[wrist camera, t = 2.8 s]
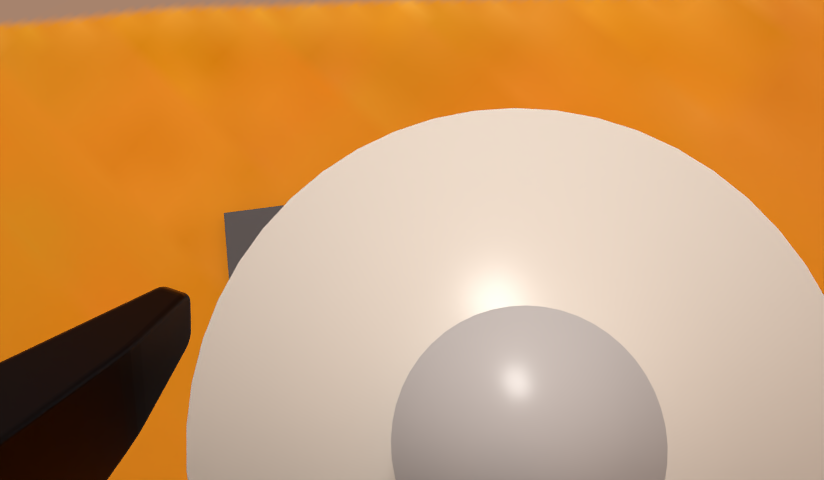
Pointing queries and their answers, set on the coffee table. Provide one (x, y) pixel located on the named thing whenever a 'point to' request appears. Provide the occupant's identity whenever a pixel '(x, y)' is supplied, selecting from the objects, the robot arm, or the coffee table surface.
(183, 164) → the coffee table surface
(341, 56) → the coffee table surface
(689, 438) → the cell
